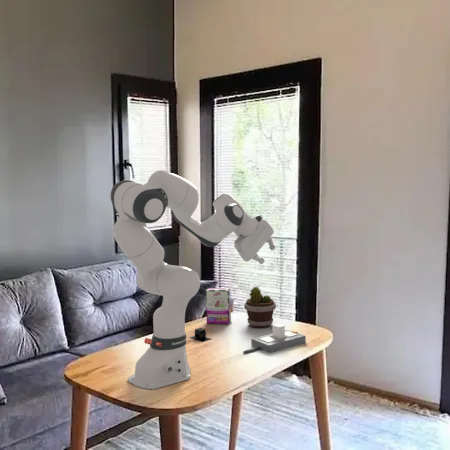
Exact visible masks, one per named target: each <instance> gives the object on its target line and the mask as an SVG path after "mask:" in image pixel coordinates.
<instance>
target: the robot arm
mask: <svg viewBox="0 0 450 450" xmlns="http://www.w3.org/2000/svg"><path fill="white" fill-rule="evenodd" d="M199 194H200V193H199V191H198V189H197V186H195V185H194V184H193V182H190V181H189V180H187V179H185V178H184V177H181V176H179V175H177V174H175V173H172V172H170V171H167V170H164V169H163V170H162V169H161V170H157V171H154V172H153V173H152V174H151V175H150V176H149V178H148V180H147V181H146V183H144V184H142V183H139V182H136V181H134V180H121V181H118V182H117V183H115V184H114V185H113V187H112V188H111V191H110V202H111V204H112V208H113V209H112V210H113V214H114V215H115V216H116V217H118V219H117V221H115V223H114V224H113V226H112V235H113V237H114V240H115V242H116V243H117V244H118V245H117V246H118V247H119V249H121V251H122V252H123V254H124V255H125V256H126V258H127V259H129V261H130V263H132V265H133V266H134V267H135V268H136V270H137V272H136V273H137V274H136V284H137V286H138V288H139V289H141V290H142V291H145V292H147V293H149V294H151V295H156V296H162V303H161V306H160V307H158V308H156V310H155V311H154V313H153V315H152V319H153V320H152V324H153V334H152V337H151V338H149V337H146V338H144V340H143V343H144V344H145V345H149V347H148V349H147V350H146V351H145V352H144V353H143V355H141V357H139V358H138V360H137V361H136V363H135V368H134V369H135V370H134V373H133V374H131V375H129V376H128V378H127V379H128V382H129V383H130V384H131V383H132V385H134V386H136V387H138V388H141V389H148V390H156V389H160V388H162V387H166V386H170V385H174V384H176V383H181V382H183V381H186V380H187V381H188V380H190V379H191V375H190V374H191V368H190V364H189V360H188V354H187V347H186V345H187V339H188V338H187V333H186V311H187V307H188V304H189V302H190V301H191V299H192V298H193V297H195V295H197V293H198V291H199V290H200V288H201V287H200V286H201V278H200V275H199V274H198V272H197V271H195V270H193V269H191V268H189V267H187V266H181V265H173V264H168V263H167V262H165V261H164V258H165V248H164V247H163V246H162V245H161V244H160V242H159V241H158V239H157V238H156V237H155V235H154V234H153V233H152V232H151V230H149V227H148V226H147V224H153V223H156V222H158V221H159V220H160V219H161V218H162V217H163V215H164V214H165V212H166V208H168V209H171V210H170V212H171V216H172V217H173V219H174V221H176V223H177V224H179V225H180V226H181V227H183V228H184V229H185V230H186V231H188V233H190V234H191V235H193V236H194V237H195V238H197V240H198V241H200V243H201V244H202V245H204V246H205V247H209V248H213V247H214V248H215V247H217V246H218V245H219V244H220V243H222V241H223V240H225V239H226V238H227V237H228V236H230V235H231V234H232V233H234V235H235V236H236V237H237V238H236V239H235V240H234V249H236V251H237V252H238V255H239V256H240V257H241V259H242V260H243V261H244V262H249V261H251V260H252V261H256V262H258V263H259V265H263V264H264V263H265V259H264V258H263V257H260V256H259V254H258V252H259V251H260V250H261V248H263V247H264V245H265V244H266V243H268V246H269V247H268V249H269V250H270V251H274V250H275V249H276V248H277V247H276V245H275V244H274V241H273V239H272V236H273V234H274V231H275V230H274V228H273V227H272V226H271V224H270V222H268V221H267V220H266V219H264V217H263V215H262V214H258V215H255V216H253V217H251V216H250V215H249V213H247V212H246V211H245V209H244V207H243V206H242V205H241V204H240V202H238V200H237V199H236V198H235V197H234V196H232V195H231V194H230V193H228V192H227V193H226V192H225V193H222V194H221V195H220V196H218V197H217V198H216V199H215V200H213V202H212V206H213V208H214V210H215V212H214V213H213V214H212V215H211V216H210V217H208V218H207V219H206V220H204V221H199V220H198V219H196V218H195V217H194V216H193V214H194V212H195V211H196V210H197V207H198V205H199V201H200V199H199V197H200V195H199Z"/></svg>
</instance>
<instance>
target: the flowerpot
mask: <svg viewBox="0 0 450 450" xmlns="http://www.w3.org/2000/svg"><path fill="white" fill-rule="evenodd" d="M252 285H253V284H252ZM261 290H262V289H261V288H260V287H259V286H258V285H256V284H254V285H253V286H252V288H251V289H249V293H248V294H249V298H248V299H247V300H246V302H245V303H244V304H243V305H244V310H245V311H246V313H247V317H248V318H247V319H246V320H247V323H248V325H249V326H250V327H252V328H257V329H266V327H267V328H269V327H271V326H272V325H273V322H274V318H273V316H274V311H275V310H276V309H277V304H276V302H274V301H275V300H274V299H273V298H271V296H270V295H268V294H265V295H263V294H262V291H261ZM264 327H265V328H264Z"/></svg>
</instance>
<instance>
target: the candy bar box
mask: <svg viewBox="0 0 450 450" xmlns="http://www.w3.org/2000/svg"><path fill="white" fill-rule="evenodd" d="M205 302H206V304H205V306H206V307H205V309H206V310H205V311H206V324H207V325H230V324H231V323H232V309H231V307H232V306H231V303H232V302H231V288H226V287H225V288H224V287H223V288H222V287H221V288H219V287H217V288H216V287H215V288H214V287H213V288H212V287H211V288H210V287H209V288H207V289H205Z"/></svg>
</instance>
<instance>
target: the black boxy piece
mask: <svg viewBox="0 0 450 450" xmlns="http://www.w3.org/2000/svg"><path fill="white" fill-rule="evenodd" d="M188 338H189V339H193V340H195V341H198V342H202V343H205V342H208V341H211V340H213V338H210V337H207V331H206V329H205V328H203V327H199V328H195V329H194V335H192V336H189V337H188Z"/></svg>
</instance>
